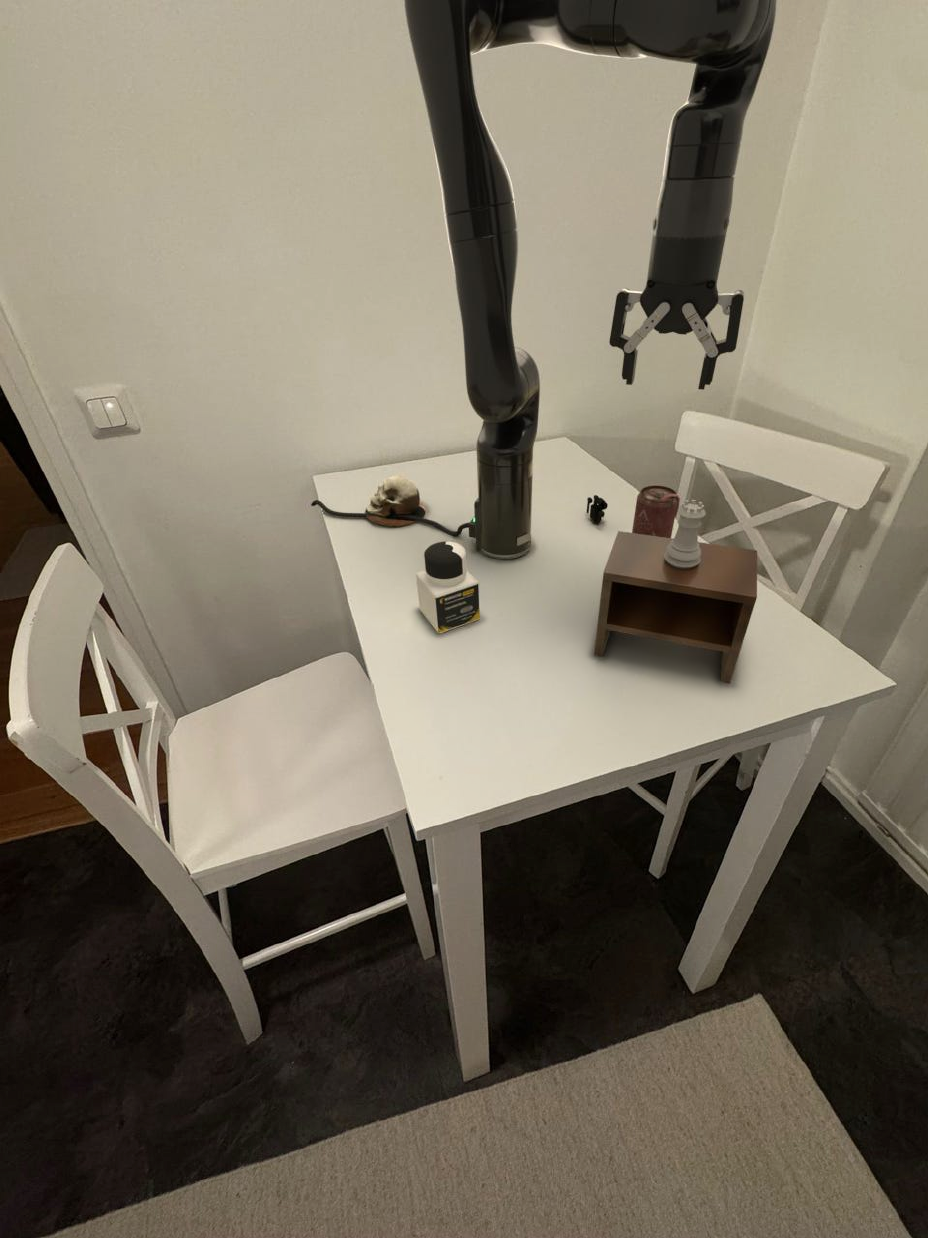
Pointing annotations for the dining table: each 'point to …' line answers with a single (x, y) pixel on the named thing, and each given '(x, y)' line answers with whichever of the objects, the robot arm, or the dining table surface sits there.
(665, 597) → the shelf
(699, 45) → the robot arm
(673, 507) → the can
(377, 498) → the skull
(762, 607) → the dining table surface
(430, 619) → the medicine bottle
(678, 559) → the rook chess piece
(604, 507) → the wireless earbuds
